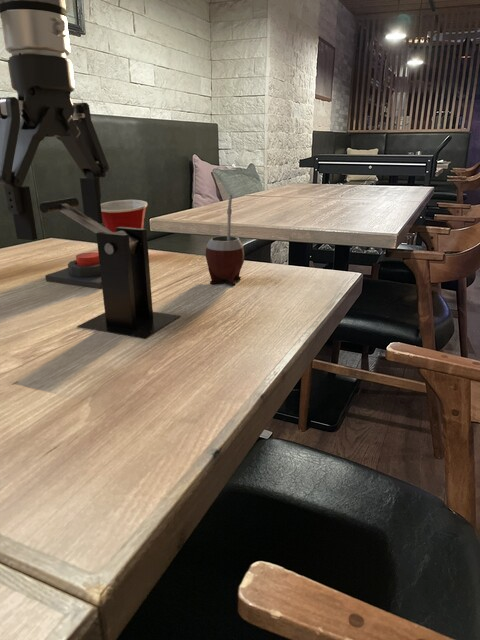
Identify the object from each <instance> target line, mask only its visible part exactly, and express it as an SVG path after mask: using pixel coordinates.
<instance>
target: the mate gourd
mask: <svg viewBox="0 0 480 640" xmlns="http://www.w3.org/2000/svg"><path fill="white" fill-rule="evenodd" d="M232 201H233V195H232V194H230V195H228V203H227V209H226V212H227V213H226V215H227V229H226V233H227V234H226V235H218V236H213V237H211V238H210V239H209V240H208V242H207V243H206V248H205V260H206V264H207V268H208V273H209V276H210V281H209V284H210V285H217V284H222V283H223V284H227V285H229V286H231V287H234V286H236V282H235V281H241V280H242V279H241V278H242V277H241V276H240V273H241V270H242V268H243V265H244V263H245V256H246V254H245V248H244V244H243V241H242V240H241V239H240V237H237V236H233V235H231V225H232V224H231V221H232V211H233V210H232Z"/></svg>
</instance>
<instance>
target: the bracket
mask: <svg viewBox="0 0 480 640" xmlns="http://www.w3.org/2000/svg"><path fill="white" fill-rule="evenodd" d="M115 229H116V232H118V231H121V230H123V231H124V232H126V233H128V234H120V233H109V232H99V233H95V235H96V245H97V253H98V254H99V263H100V272H101V281H102V288H101V289H102V299H103V306H104V307H103V308H104V312H102V313H101V314H99V315H96V316H95V317H93V318H91V319H89V320H87V321H85V322H83V323H81V324H79V325H77V326H76V327H77V328H82V329H86V330H92V331H97V332H103V333H108V334H115V335H119V336H120V335H121V336H126V337H130V338H137V339H142V340H147V339H148V338H149V337H151V336H152V335H153V334H156V333H158V332H159V331H160V330H162V329H163V328H165V327H166V326H168V325H170V324H171V323H173V322H174V321H176V320H177V319H179V318H180V317H181V315H177V314H170V313H164V312H157V311H153V297H152V285H151V271H150V270H151V269H150V257H149V243H148V231H147V228H143V229H142V228H129V227H117V228H115ZM129 235H131V236H132V237H134V238H136V239H137V240H138V244H137V247H136V250H135V253H134V255H133V256H131V255H130V243H129Z"/></svg>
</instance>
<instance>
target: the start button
mask: <svg viewBox="0 0 480 640" xmlns="http://www.w3.org/2000/svg"><path fill="white" fill-rule="evenodd" d="M75 260H76V261H77V265H79V266H92V265H98V264H100V263H99V254H98V252H95V251H90V252H81V253H79V254H76V255H75Z"/></svg>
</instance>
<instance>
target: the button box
mask: <svg viewBox="0 0 480 640" xmlns="http://www.w3.org/2000/svg"><path fill="white" fill-rule="evenodd" d="M44 277H45V281H46V283H47V282H48V283H55V284H61V285H69V286H76V287H82V288H90V289H98V290H101V289H102V281H101V272H100V264H98V265H92V266H79V265H77V261H76V259H74V260H71V261H69V262H68V263H67V267H65V268H63V269H61V270H57V271H55V272H52V273H51V272H50V273H48V274H45V276H44Z"/></svg>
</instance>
